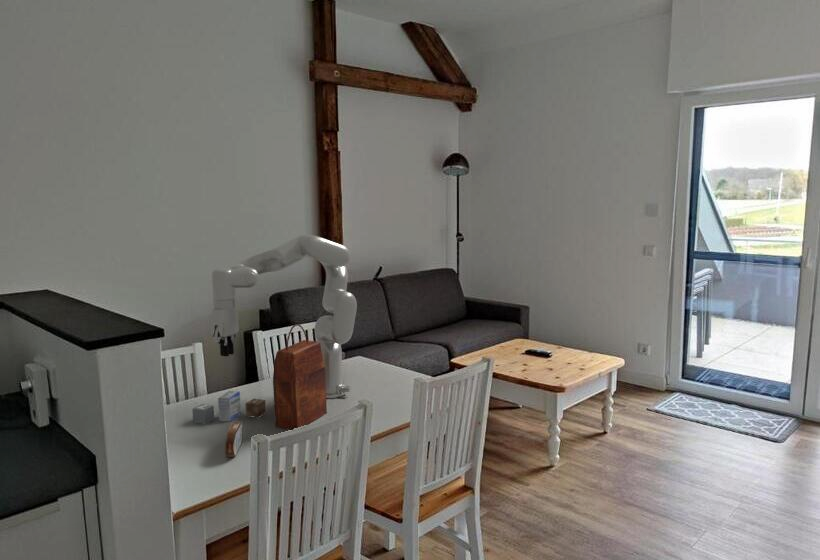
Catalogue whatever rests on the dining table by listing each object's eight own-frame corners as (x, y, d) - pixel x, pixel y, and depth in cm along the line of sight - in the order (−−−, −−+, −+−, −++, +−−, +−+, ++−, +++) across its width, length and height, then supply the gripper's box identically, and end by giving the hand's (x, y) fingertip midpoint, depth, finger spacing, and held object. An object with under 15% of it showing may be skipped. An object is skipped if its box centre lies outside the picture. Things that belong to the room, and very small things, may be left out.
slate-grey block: (214, 419, 209) (213, 405, 209) (204, 424, 205) (204, 409, 204) (202, 417, 211) (201, 403, 210) (193, 422, 206) (192, 408, 206)
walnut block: (265, 413, 215) (265, 399, 214) (257, 417, 210) (257, 404, 210) (254, 411, 217) (253, 398, 216) (246, 416, 212) (245, 402, 211)
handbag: (272, 427, 202) (267, 328, 197) (305, 407, 220) (301, 316, 214) (297, 432, 198) (292, 331, 192) (329, 412, 215) (325, 319, 210)
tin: (235, 441, 190) (234, 416, 189) (245, 441, 190) (244, 416, 189) (224, 462, 175) (223, 435, 174) (235, 461, 176) (234, 434, 174)
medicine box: (230, 422, 206) (229, 398, 205) (218, 421, 207) (217, 397, 206) (241, 413, 214) (240, 391, 213) (230, 413, 215) (228, 390, 214)
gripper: (229, 299, 213) (232, 348, 216) (200, 307, 199) (203, 359, 201) (247, 300, 211) (249, 350, 214) (219, 308, 196) (221, 361, 199)
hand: (227, 354), depth 207 cm, fingers closed
